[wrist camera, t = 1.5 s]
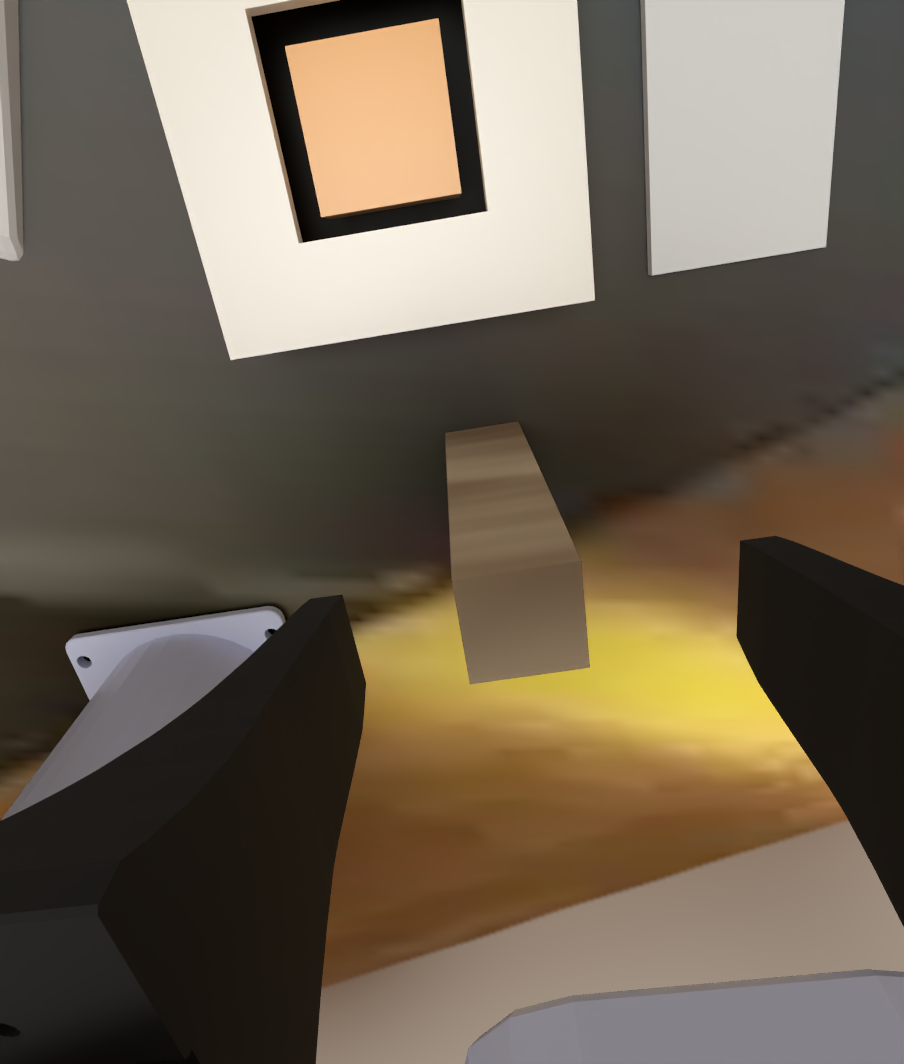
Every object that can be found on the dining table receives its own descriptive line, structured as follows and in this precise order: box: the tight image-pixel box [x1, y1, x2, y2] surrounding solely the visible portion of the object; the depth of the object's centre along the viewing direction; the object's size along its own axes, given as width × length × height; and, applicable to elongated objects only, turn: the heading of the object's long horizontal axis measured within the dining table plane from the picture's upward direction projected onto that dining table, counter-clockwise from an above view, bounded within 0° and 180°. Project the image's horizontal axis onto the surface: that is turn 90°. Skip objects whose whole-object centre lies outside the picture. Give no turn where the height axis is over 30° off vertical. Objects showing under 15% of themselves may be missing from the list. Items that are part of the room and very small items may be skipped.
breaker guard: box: [127, 0, 595, 360], centre depth 16 cm, size 9×9×4 cm
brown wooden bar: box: [445, 422, 590, 684], centre depth 17 cm, size 2×2×10 cm
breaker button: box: [285, 18, 461, 219], centre depth 16 cm, size 3×3×2 cm
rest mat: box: [640, 0, 845, 275], centre depth 17 cm, size 8×5×1 cm, turn 9°
